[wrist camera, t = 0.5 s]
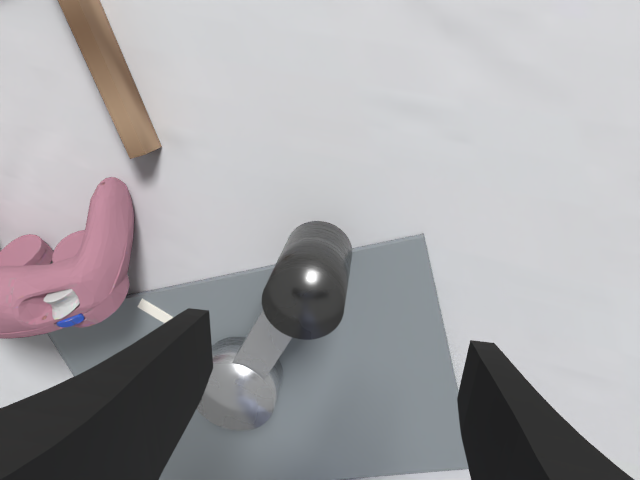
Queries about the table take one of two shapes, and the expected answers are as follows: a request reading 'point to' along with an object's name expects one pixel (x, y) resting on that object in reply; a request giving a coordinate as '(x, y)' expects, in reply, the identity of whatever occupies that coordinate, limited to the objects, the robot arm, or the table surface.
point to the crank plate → (315, 375)
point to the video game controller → (69, 270)
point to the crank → (279, 326)
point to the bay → (111, 75)
